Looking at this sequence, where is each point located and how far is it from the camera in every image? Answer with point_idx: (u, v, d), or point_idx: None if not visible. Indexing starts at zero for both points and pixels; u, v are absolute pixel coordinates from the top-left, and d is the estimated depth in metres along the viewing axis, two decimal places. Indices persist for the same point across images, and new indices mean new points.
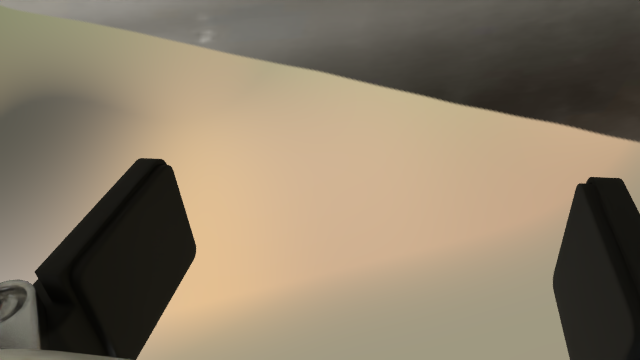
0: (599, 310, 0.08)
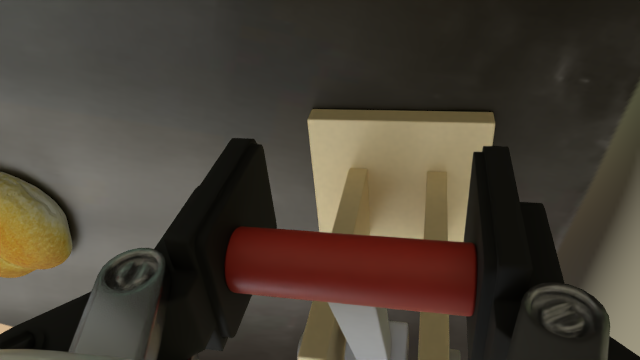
0: None
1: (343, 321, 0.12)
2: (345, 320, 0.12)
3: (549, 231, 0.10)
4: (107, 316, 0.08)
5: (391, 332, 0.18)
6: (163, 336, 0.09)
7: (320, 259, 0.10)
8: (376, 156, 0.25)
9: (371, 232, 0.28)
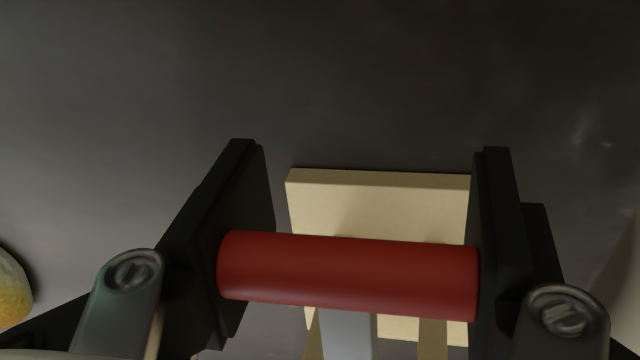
0: None
1: None
2: None
3: (549, 231, 0.10)
4: (106, 316, 0.08)
5: None
6: (163, 336, 0.09)
7: (318, 250, 0.10)
8: (364, 223, 0.22)
9: None
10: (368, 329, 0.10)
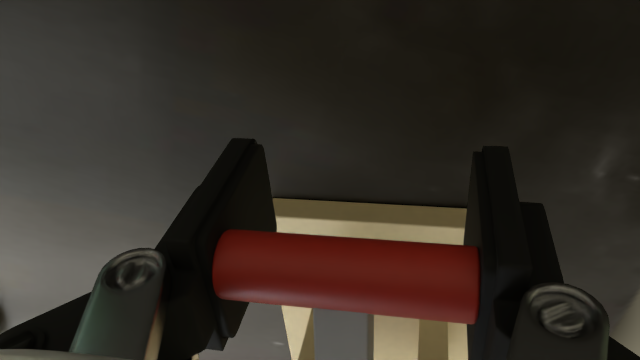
0: None
1: None
2: None
3: (549, 231, 0.10)
4: (108, 316, 0.08)
5: None
6: (163, 336, 0.09)
7: (317, 243, 0.10)
8: None
9: None
10: (365, 336, 0.10)
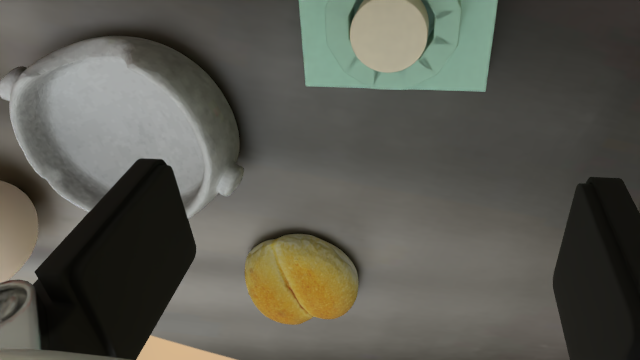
0: (599, 310, 0.08)
1: None
2: None
3: None
4: None
5: None
6: None
7: None
8: None
9: None
10: None
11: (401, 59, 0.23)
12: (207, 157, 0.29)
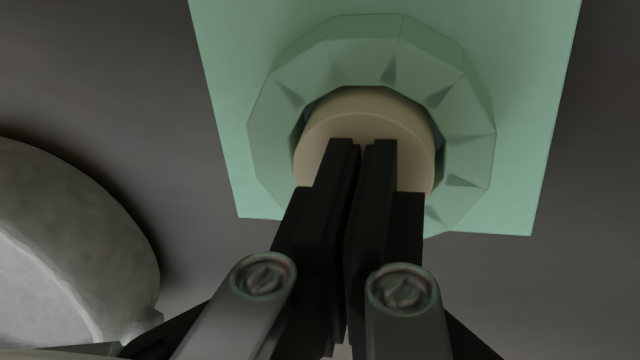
0: None
1: None
2: None
3: (423, 218, 0.10)
4: (225, 318, 0.08)
5: None
6: (277, 349, 0.09)
7: None
8: None
9: None
10: None
11: None
12: (92, 326, 0.19)
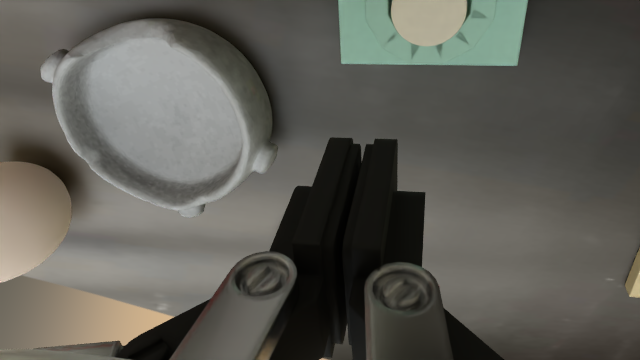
0: None
1: None
2: None
3: (423, 218, 0.10)
4: (225, 318, 0.08)
5: None
6: (277, 349, 0.09)
7: None
8: None
9: None
10: None
11: (440, 32, 0.24)
12: (246, 134, 0.30)
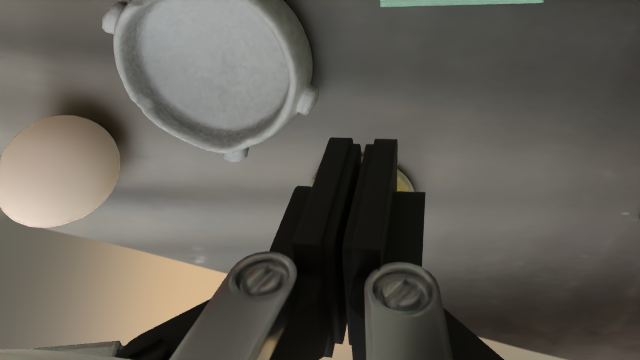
0: None
1: None
2: None
3: (423, 218, 0.10)
4: (225, 318, 0.08)
5: None
6: (277, 349, 0.09)
7: None
8: None
9: None
10: None
11: None
12: (293, 74, 0.33)
